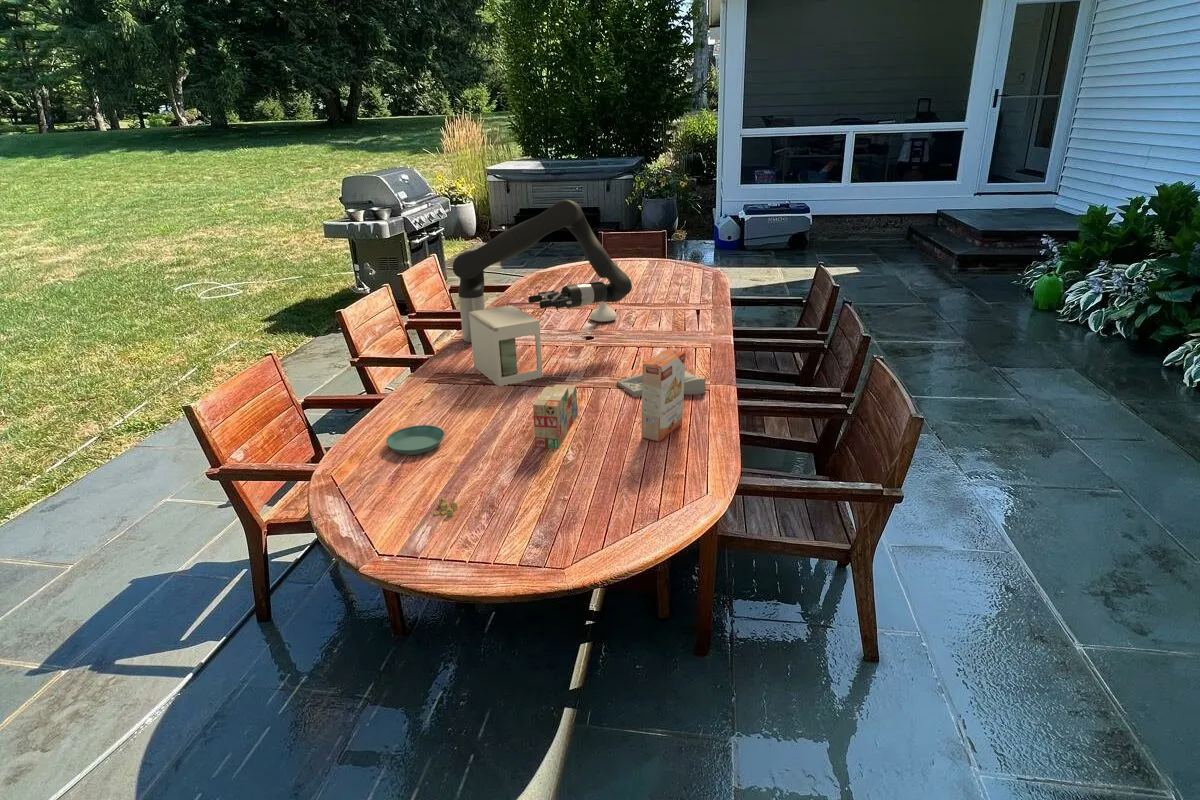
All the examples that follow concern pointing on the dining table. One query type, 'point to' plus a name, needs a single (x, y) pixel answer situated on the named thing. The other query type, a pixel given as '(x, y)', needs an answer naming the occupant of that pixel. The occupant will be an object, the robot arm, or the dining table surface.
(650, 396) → the cracker box
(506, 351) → the sage block
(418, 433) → the saucer
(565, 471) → the dining table surface
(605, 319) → the flower in vase
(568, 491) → the dining table surface
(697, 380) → the ramp
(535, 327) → the cubby
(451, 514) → the dice set
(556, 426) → the stack of blocks
